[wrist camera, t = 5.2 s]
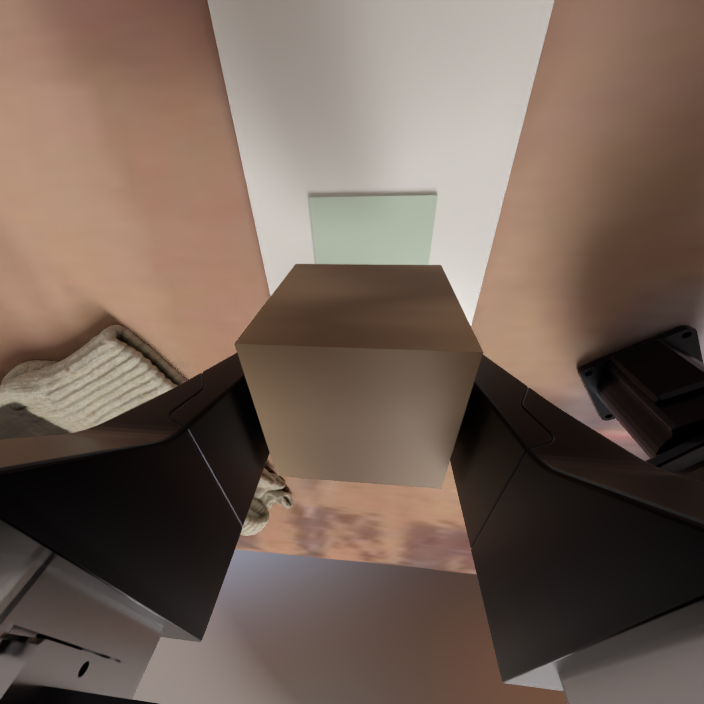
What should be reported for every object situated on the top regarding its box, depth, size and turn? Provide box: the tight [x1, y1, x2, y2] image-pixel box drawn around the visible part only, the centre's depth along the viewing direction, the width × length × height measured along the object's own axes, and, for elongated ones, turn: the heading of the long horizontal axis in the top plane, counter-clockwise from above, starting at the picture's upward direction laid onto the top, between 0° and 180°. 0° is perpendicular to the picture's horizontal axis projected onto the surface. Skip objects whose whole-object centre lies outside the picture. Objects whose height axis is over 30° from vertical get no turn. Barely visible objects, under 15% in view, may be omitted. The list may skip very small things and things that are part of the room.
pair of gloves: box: [0, 325, 293, 536], centre depth 31 cm, size 30×26×5 cm
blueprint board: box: [207, 0, 554, 326], centre depth 17 cm, size 25×13×1 cm, turn 2°
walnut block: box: [235, 264, 483, 489], centre depth 8 cm, size 4×4×4 cm
